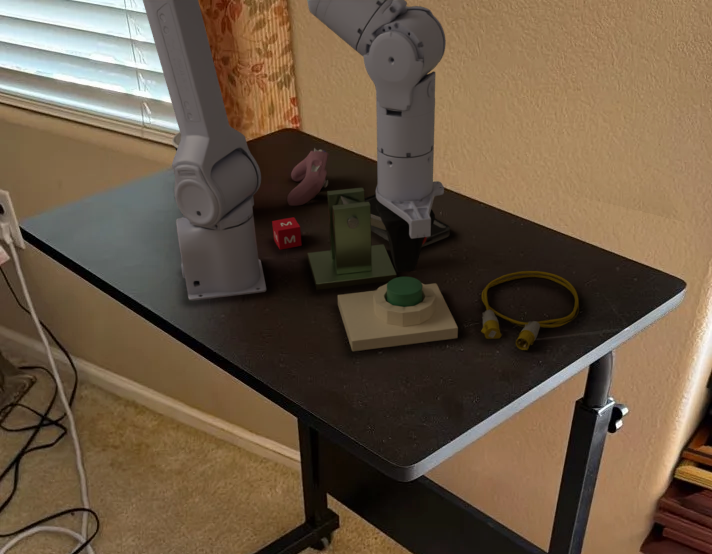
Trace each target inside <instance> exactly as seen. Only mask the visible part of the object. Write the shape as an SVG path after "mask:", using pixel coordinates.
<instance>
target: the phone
mask: <svg viewBox="0 0 712 554" xmlns="http://www.w3.org/2000/svg"><path fill="white" fill-rule="evenodd" d="M364 202H369V203H370V211H371V214H372V215H375V216H378V217H380V215H379V213H378V211H377V208H376V204H377V203H379V201H378V200H377V198H376V193H374V194H372V195H369V196H366V197H364ZM371 233H374V234H376V235H377V236H379V237H381V238H382V239H384V240H385V241H387V242H389V240H388V235H387V232H386V230H383V229H380V228H377V227H374V226H371ZM450 235H451V227H450V226H449V225H448V224H446V223H445V222H443V221H441V220H439V219H438V218H436V217H435V220H434V223H433V225H432V226H431V236H430V237H427V239H426V241H425V243H424V244H423V245H422V247H421V248H423V247H425V246H428V245H431V244H433V243H436V242H439V241H442V240H444V239H446V238H448V237H449V236H450Z"/></svg>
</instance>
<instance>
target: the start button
mask: <svg viewBox="0 0 712 554" xmlns="http://www.w3.org/2000/svg"><path fill="white" fill-rule="evenodd" d="M387 283H388V284H387ZM387 283H386V284H387V301H388V302H389V303H390V304H392V305H394V306H400V307H409V306H415V305H417V304H419V303H420V302H421V301H422V283H423V282H422V281H421V280H420V279H418V278H415V277H412V276H399V277H398V276H397V278H394V279H392V280H390V281H388V282H387Z"/></svg>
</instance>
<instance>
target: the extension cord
mask: <svg viewBox="0 0 712 554" xmlns="http://www.w3.org/2000/svg"><path fill="white" fill-rule="evenodd" d="M525 278H539V279H540V278H541V279H546V280H551V281H553V282H555V283H557V284H559V285H561V286H560V287H561V288H562V286H563V287H565V288H566V289H567V290H568V291H570V293H571V294H572V295H573V298H574V304H573V305H574V306H573V309H572V312H570V313H569V314H568V315H566V316H564V317H560V318H553V319H547V320H540V321H536V320H533V321H531V320H529V321H526V322H525V321H519V320H516V319H513V318H512V317H509V316H506V315H503V314H502V313H500V312H498V311H496V309H494V308H493V307H491V306H490V305H489V301H488V290H489V289H490V288H492V287H495V286H497V285H500V284H503V283H507V282H509V281H513V280H519V279H525ZM555 283H553V284H554V285H555ZM481 301H482V303H483V305H484V306H485V309H486V310H485V311H484V312H482V316H481V318H482V329H481V330H480V332H481V333H482V334H483V335H484V337H485V339H487V340H491V339H492V340H493V339H494V340H495V339H500V338H501V337H502V335H503V334H502V333H501V330H500V324H499V323H500V322H499V320H498V317H499V318H502V319H503V320H505V321H507V322H509V323H510V324H515V325H516V326H519V327H523V328H522V330H521V331H520V332H519V334H518V337H517V339H516V340H515V346H516V347H517V348H518V349H519V350H521V351H528V350H529V347H530V346H533V345H534V342H535V341H536V339H537V337H538V335H539V331H540V329H541V328H547V329H552V328H553V329H555V328H559V327H561V326H564V325H566V324H568V323H570V322H572V321H573V320H574V319H575V318H577V316H578V314H579V311H580V306H579V296H578V293H577V290H576V289H575V287H574V286H573V284H572V283H571V282H570V281H568V280H567V278H564V277H562V276H560V275H557V274H555V273H550V272H547V271H540V270H523V271H515V272H510V273H507V274H504V275H501V276H499V277H497V278H495V279H493V280H491V281H490V282H489V283H488V284H486V286H485V287H484V288H483V290H482V292H481ZM497 316H498V317H497Z"/></svg>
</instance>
